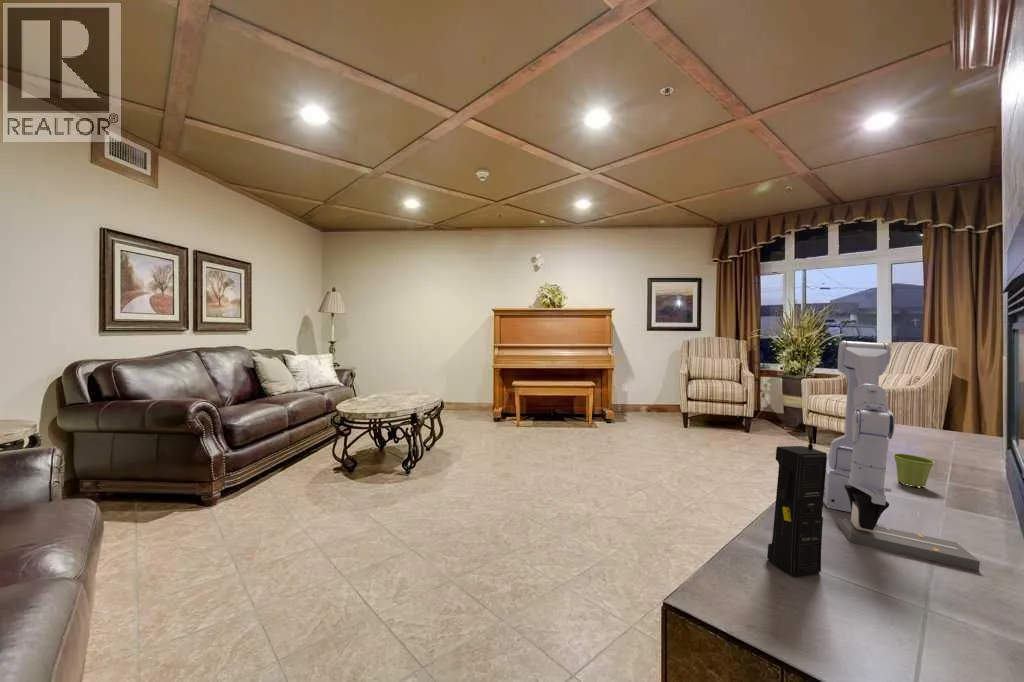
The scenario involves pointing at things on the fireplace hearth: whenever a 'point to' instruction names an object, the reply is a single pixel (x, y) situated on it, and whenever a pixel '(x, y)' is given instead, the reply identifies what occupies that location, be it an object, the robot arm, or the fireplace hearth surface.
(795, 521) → the portable radio
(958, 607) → the fireplace hearth surface
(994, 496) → the fireplace hearth surface
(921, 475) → the plant pot
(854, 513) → the fader
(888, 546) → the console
